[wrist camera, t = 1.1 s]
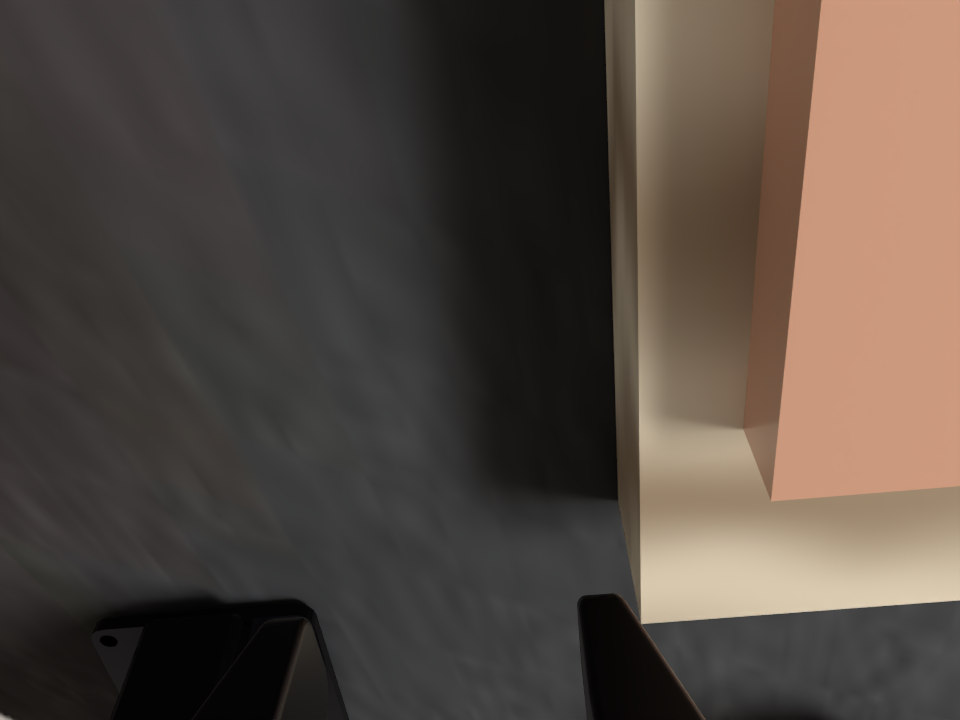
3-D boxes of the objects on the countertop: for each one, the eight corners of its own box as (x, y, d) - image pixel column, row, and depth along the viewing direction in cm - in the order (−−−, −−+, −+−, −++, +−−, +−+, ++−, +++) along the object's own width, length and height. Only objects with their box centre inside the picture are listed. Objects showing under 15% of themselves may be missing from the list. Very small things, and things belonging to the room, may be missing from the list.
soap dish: (1086, 463, 24) (1186, 583, 20) (618, 502, 24) (641, 623, 21) (1488, -665, 12) (1858, -807, 9) (589, -536, 13) (628, -626, 10)
